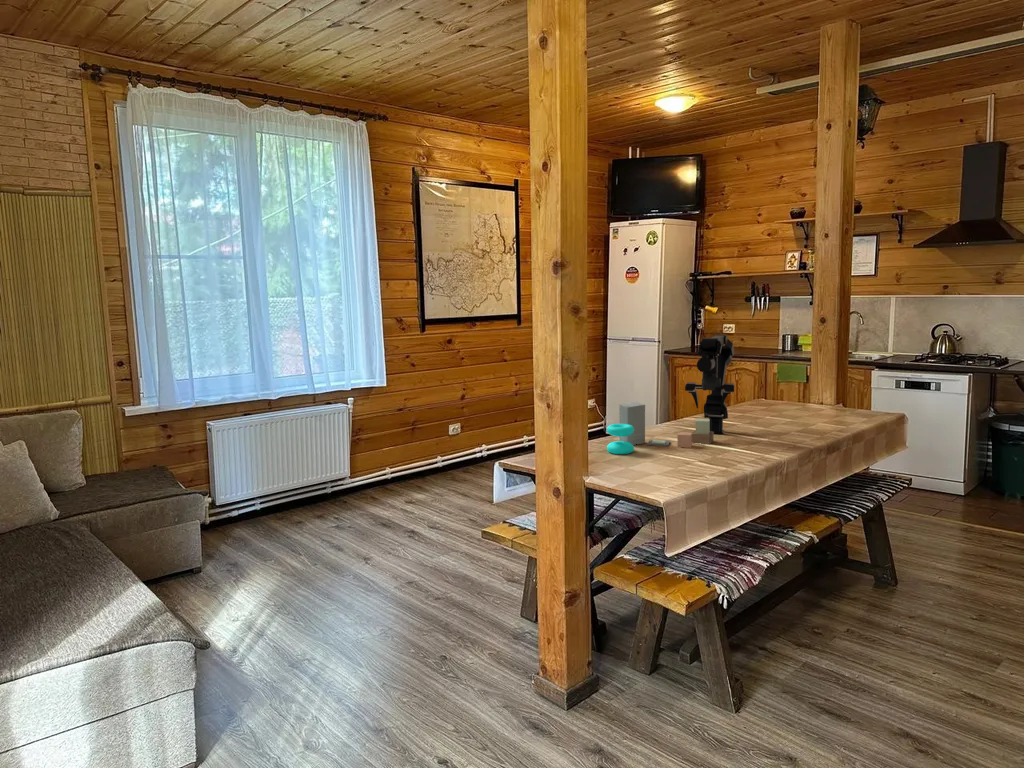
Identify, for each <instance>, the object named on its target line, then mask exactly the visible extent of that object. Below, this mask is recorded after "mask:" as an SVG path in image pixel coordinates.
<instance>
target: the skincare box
mask: <svg viewBox="0 0 1024 768" xmlns="http://www.w3.org/2000/svg"><path fill="white" fill-rule="evenodd" d="M618 406H619V409H618V410H619V413H618V414H619V418H618V419H619V420H618V421H619V422H618V423H619V424H629V425H631V426H633V427H634V432H633V433H632V434H631V435H629V436H623V437H619V441H625V442H629V443H631V444H632V445H633V446H635V445H636V444H637V445H642V444H645V443H646V404H645V403H641V402H638V401H635V402H629V403H622V404H619V405H618Z"/></svg>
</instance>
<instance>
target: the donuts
mask: <svg viewBox="0 0 1024 768" xmlns="http://www.w3.org/2000/svg"><path fill="white" fill-rule="evenodd" d="M606 432H607V433H608V434H609V435H611V436H613V437H619V438H620V437H623V436H629V435H631V434H632V433H633V432H634V427H633V426H631V425H629V424H620V423H612V424H609V425H608V426H607V427H606ZM634 450H635V445H632V444H631V443H629V442H625V441H620V440H616V441H612V442H609V444H607V446H606V451H608V452H609V453H610V454H613V455H628V454H631V453H633V452H634Z"/></svg>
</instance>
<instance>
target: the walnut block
mask: <svg viewBox="0 0 1024 768" xmlns="http://www.w3.org/2000/svg"><path fill="white" fill-rule="evenodd" d="M691 433H692V444H695V443H701V444H700V445H706V444H709V445H710V444H712V443H713V442H714V434H715V433H714V432H709V434H696V430H694V431H693V432H691ZM711 442H712V443H711Z"/></svg>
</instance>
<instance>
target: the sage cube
mask: <svg viewBox="0 0 1024 768" xmlns="http://www.w3.org/2000/svg"><path fill="white" fill-rule="evenodd" d="M695 431H696V434H709V432H710V419H709V418H696V419H695Z"/></svg>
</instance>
